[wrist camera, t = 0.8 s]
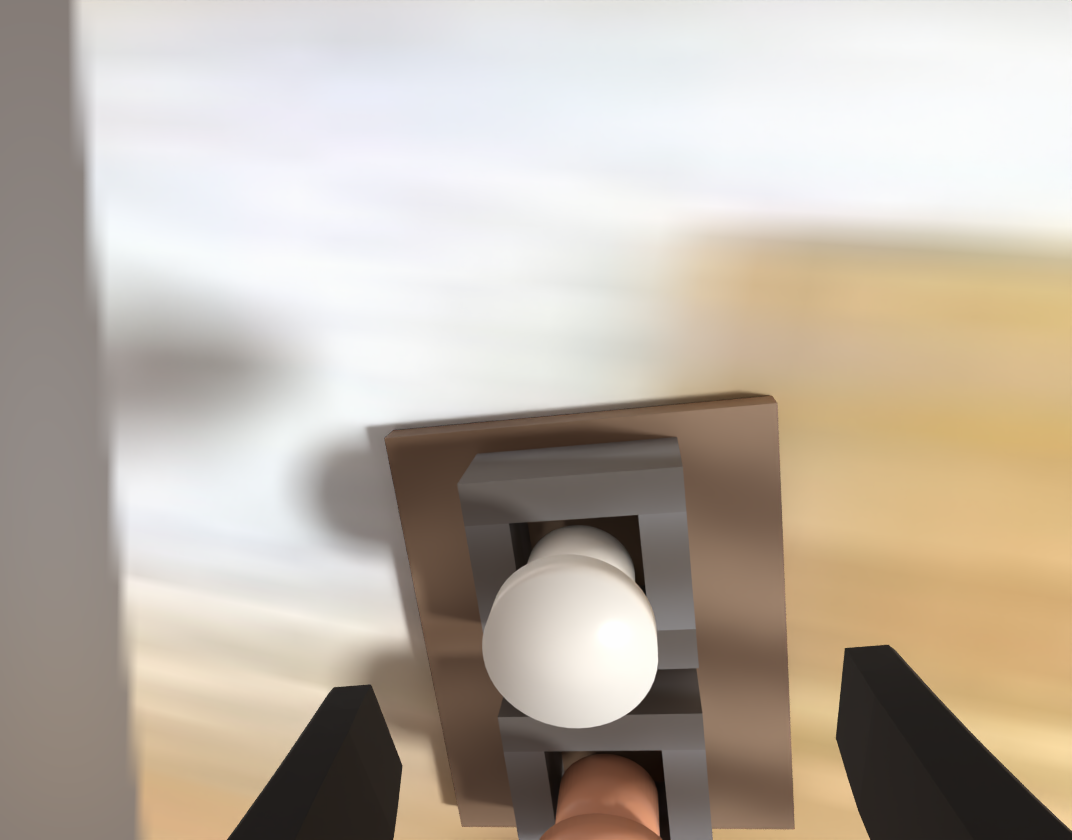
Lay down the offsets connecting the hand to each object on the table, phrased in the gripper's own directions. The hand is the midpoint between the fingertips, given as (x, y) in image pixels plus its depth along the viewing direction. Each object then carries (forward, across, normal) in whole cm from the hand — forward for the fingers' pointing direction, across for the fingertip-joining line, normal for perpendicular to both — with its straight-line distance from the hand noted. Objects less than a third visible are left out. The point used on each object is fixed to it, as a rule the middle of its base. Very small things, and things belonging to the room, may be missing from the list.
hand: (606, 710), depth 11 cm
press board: (+13, +1, +12) cm, 18 cm away
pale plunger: (+10, +1, +7) cm, 12 cm away
